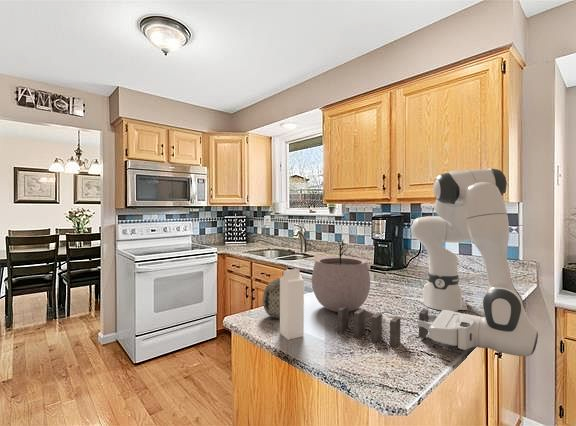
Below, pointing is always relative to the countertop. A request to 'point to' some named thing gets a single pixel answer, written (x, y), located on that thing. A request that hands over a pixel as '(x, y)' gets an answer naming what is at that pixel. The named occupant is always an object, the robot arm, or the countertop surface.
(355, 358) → the countertop surface
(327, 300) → the plant pot
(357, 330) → the domino
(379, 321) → the domino
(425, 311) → the domino
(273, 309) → the decorative egg
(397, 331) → the domino
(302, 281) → the milk
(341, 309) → the domino
